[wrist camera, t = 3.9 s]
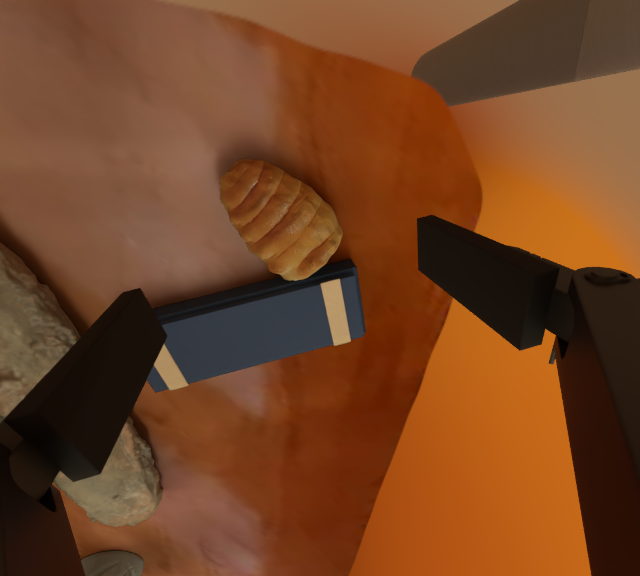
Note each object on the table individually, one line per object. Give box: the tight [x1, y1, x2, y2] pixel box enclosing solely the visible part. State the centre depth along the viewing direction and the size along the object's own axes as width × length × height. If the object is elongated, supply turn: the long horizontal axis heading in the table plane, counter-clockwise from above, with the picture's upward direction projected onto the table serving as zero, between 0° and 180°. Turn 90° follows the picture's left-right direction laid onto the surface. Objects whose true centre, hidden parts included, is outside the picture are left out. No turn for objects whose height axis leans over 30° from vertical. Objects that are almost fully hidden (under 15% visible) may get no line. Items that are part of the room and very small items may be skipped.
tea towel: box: [147, 259, 366, 392], centre depth 25 cm, size 20×7×3 cm, turn 101°
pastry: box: [220, 159, 343, 281], centre depth 21 cm, size 9×7×4 cm
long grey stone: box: [0, 242, 163, 527], centre depth 25 cm, size 35×5×10 cm
